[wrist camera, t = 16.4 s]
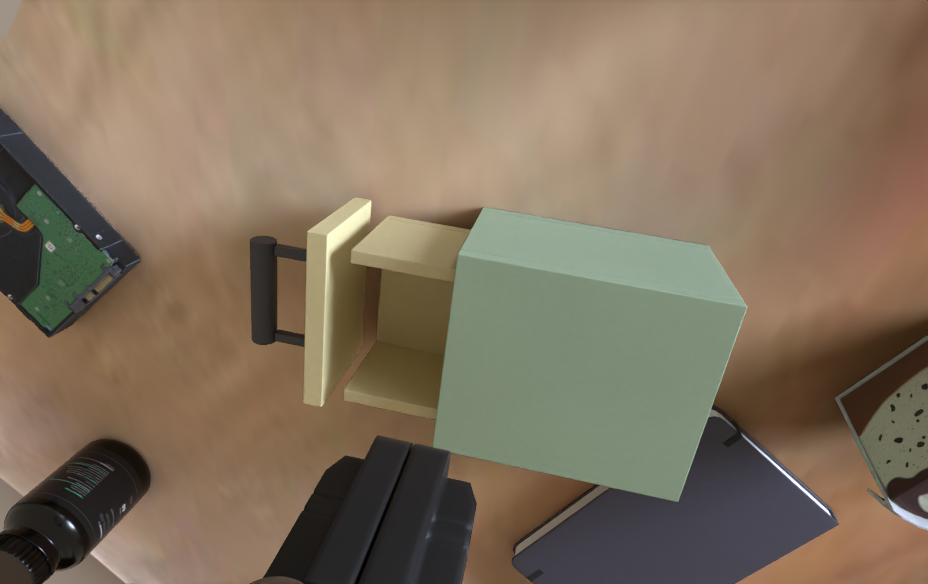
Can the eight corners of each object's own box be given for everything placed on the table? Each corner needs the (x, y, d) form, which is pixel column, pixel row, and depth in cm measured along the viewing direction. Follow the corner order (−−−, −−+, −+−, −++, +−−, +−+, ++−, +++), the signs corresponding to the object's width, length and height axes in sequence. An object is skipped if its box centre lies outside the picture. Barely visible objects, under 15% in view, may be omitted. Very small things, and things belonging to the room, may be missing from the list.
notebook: (616, 634, 52) (831, 508, 44) (617, 650, 51) (840, 524, 42) (508, 548, 51) (711, 400, 42) (506, 562, 49) (716, 413, 41)
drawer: (285, 333, 45) (231, 388, 38) (286, 185, 40) (224, 216, 33) (525, 381, 43) (515, 449, 36) (555, 232, 39) (550, 275, 31)
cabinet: (459, 369, 45) (431, 449, 36) (483, 206, 40) (457, 254, 31) (657, 409, 43) (678, 502, 34) (708, 245, 38) (748, 306, 29)
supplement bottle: (146, 508, 56) (43, 620, 46) (79, 477, 56) (-39, 582, 45) (159, 457, 54) (53, 564, 43) (89, 424, 53) (-35, 523, 43)
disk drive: (-67, 183, 47) (75, 326, 49) (-105, 191, 44) (47, 341, 47) (-3, 96, 43) (146, 257, 46) (-41, 99, 40) (120, 269, 43)
